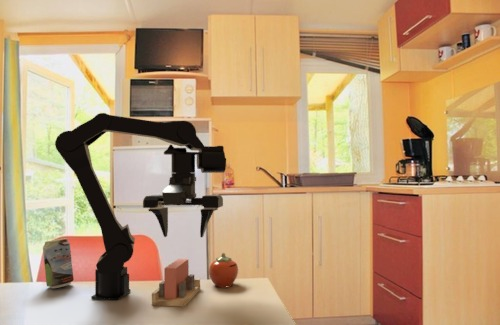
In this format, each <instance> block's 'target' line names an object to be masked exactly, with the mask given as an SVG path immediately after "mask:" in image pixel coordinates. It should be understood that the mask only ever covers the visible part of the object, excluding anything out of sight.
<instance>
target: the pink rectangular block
mask: <svg viewBox="0 0 500 325" xmlns="http://www.w3.org/2000/svg"><path fill="white" fill-rule="evenodd" d="M189 268H190V267H189V259H188V258H177V259H175V261H173V262H171V263H170V264H168V265H167V266H166V267H164V270H163V271H164V280H163V281H164V295H165V299H176V298H177V297H178V296H179V284H180V283H181V282H186V289H187V288H188V276H189V275H190V274H189Z"/></svg>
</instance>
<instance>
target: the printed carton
mask: <svg viewBox="0 0 500 325" xmlns="http://www.w3.org/2000/svg"><path fill="white" fill-rule="evenodd" d="M42 253H43V265H44V270H45V271H44V272H45V281H46V287H49V288H50V289H57V288H62V287H66V286H68V285H69V286H70V285H71V284H72V283H73V282H74V271H73V270H74V269H73V262H72V254H71V253H72V251H71V244H70V241H69V240H68V239H67V237H64V238H58V239H57V238H56V239H53V240H52V239H51V240H47V241H45V242H44V245H43V246H42Z"/></svg>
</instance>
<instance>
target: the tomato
mask: <svg viewBox="0 0 500 325" xmlns="http://www.w3.org/2000/svg"><path fill="white" fill-rule="evenodd" d="M238 274H239V266H238V264H237V263H236V261H234V260H232V258H231V257H229V256H226V253H224V252H222V253H221V256H219V257H216V258H215V260H213V261H212V262H211V263H210V265H209V267H208V275H209V278H210V280H211V281H212V283H213V284H214V286H216V287H218V286H219V288H227V287H226V286H229V287H231V286H232V285H233V284H234V283H235V281H236V279H237V277H238ZM230 285H231V286H230Z"/></svg>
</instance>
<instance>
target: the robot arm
mask: <svg viewBox="0 0 500 325" xmlns="http://www.w3.org/2000/svg"><path fill="white" fill-rule="evenodd" d="M106 133H113V134H114V133H115V134H124V135H130V136H131V135H132V136H136V137H137V136H138V137H145V138H153V139H157V140H160V141H163V142H166V143H167V144H168V143H169V146H168V147H167V149H165V150H164V152H163V155H166V156H167V155H168V156H169V155H170V157H171V177H169V180H168V185H167V186H166V187H164V189H163V190H162V192H161V193H162V194H159V195H157V194H155V195H154V194H153V195H145V196H144V198H143V199H142V208H143V209H144V208H145V209H147V210H148V212H151V213H153V215H154V216H155V217H156V219H157V221H158V223H159V227H160V229H161V231H162V235H163V237H164V238H166V237H168V234H169V233H168V232H169V211H168V210H169V207H166V206H202V207H203V208H201V209H200V216H201V217H200V218H201V219H200V230H199V231H200V232H199V235H200V238H203V237H204V235H205V233H206V229H207V227H208V224H209V223H210V219H211V217H212V215H213V213H214V212H215V211H218V210H219V208H222V207H223V206H224V198H223V197H222V195H221V194H206V195H202V197H197V193H196V182H197V176H196V169H198V170H200V171H201V173H204V174H206V173H207V174H211V173H213V174H214V173H216V174H217V173H219V174H222V173H223V174H224V173H225V172H226V167H227V158H226V154H225V151H224V150H225V148H224V146H223V145H216V146H206V145H204V143H203V142H202V141H201V139H200V138H199V137H198V134H197V130H196V127H195V126H194V125H193V123H192V122H191V121H187V120H171V121H170V120H169V121H153V120H146V119H140V118H139V119H138V118H133V117H127V116H126V117H125V116H120V115H114V114H113V115H111V114H108V113H105V112H100V113H98V114H96V115H95V116H94V117H93V118H90V120H88V121H86V122H83V123H82V124H80V125H77V127H75V128H74V129H73V130H65V131H63V132H61V133H60V134H58V136H57V137H56V139H55V143H54V144H55V145H54V146H55V149H56V151H57V152H58V153H59V154H60V156H61V157H62V160H64V162H65V164H67V165H68V167H69V168H70V169H71V170H72V172H74V175H75V176H76V179H77V180H78V183H79V185H80V187H81V188H82V191H83V193H84V195H85V198H86V199H87V202H88V204H89V206H90V208H91V210H92V212H93V215H94V217H95V219H96V221H97V223H98V225H99V228H100V230H101V235H102V241H103V242H102V243H103V246H104V249H105V251H104V252H103V253H102V255H101V256H99V259H98V260H97V263H96V265H95V266H96V267H95V268H96V269H95V274H94V275H95V280H94V281H95V286H94V288H95V293H94V294H93V295H92V296H90V297H91V298H90V299H92V300H111V301H115V300H116V301H117V300H120V299H122V298H123V297H124V296H126V295H127V294H129V293H130V292H131V289H130V274H129V273H128V267H127V266H124V265H125V264H126V263H127V262H129V261H130V260H131V258H132V257H133V254H134V247H135V246H134V244H135V240H136V238H135V237H134V236H133V234H132V233H131V231H130V228H129V224H125V225H124V226H122V224H121V223H120V222H119V220H118V219H117V217H116V214H115V212H114V211H113V209H112V206H111V204H110V201H109V200H108V198H107V194H106V193H105V191H104V190H103V187H102V185H101V183H100V180H99V179H98V176H97V174H96V172H95V170H94V167H93V162H92V156H91V153H90V149H89V146H91V145H92V144H93V143H95V142H96V141H97V140H98V139H99V138H101V137H102V136H104V134H106ZM173 145H174V146H178V147H174V146H173ZM187 149H189V150H190V151H187Z"/></svg>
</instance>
